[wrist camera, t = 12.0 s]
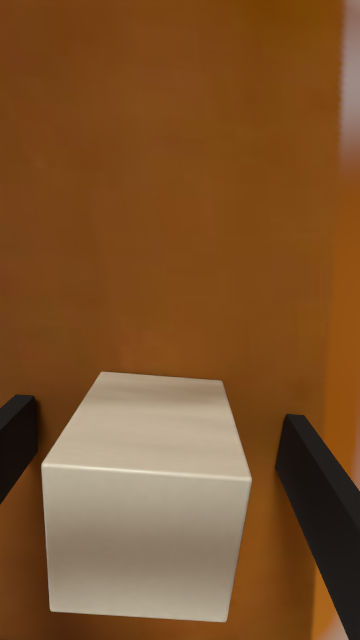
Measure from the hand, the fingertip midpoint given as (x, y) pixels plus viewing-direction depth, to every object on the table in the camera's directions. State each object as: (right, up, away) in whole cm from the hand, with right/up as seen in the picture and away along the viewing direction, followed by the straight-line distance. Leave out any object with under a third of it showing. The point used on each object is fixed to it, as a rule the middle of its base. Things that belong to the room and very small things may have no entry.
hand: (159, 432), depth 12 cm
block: (0, 0, 0) cm, 0 cm away
